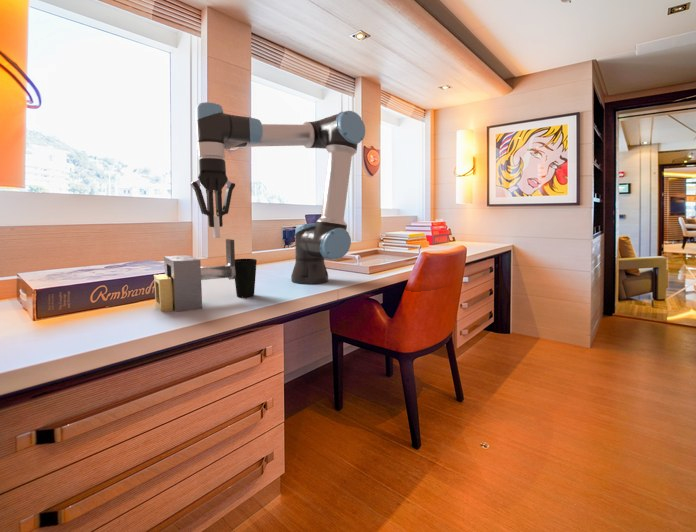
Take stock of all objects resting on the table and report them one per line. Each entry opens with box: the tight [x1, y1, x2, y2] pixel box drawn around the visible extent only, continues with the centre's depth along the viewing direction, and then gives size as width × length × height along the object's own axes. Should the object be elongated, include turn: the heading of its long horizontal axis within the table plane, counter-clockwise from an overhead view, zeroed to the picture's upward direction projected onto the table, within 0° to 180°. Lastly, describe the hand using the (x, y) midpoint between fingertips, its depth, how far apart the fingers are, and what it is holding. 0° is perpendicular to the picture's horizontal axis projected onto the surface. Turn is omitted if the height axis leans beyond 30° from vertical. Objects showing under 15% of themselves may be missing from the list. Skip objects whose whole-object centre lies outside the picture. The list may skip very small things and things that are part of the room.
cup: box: [234, 258, 258, 299], centre depth 123 cm, size 8×8×12 cm
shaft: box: [201, 238, 236, 281], centre depth 113 cm, size 16×5×13 cm, turn 125°
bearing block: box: [163, 254, 203, 313], centre depth 110 cm, size 7×14×14 cm, turn 35°
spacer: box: [153, 273, 174, 313], centre depth 107 cm, size 3×9×9 cm, turn 36°
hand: (216, 237), depth 115 cm, fingers closed
